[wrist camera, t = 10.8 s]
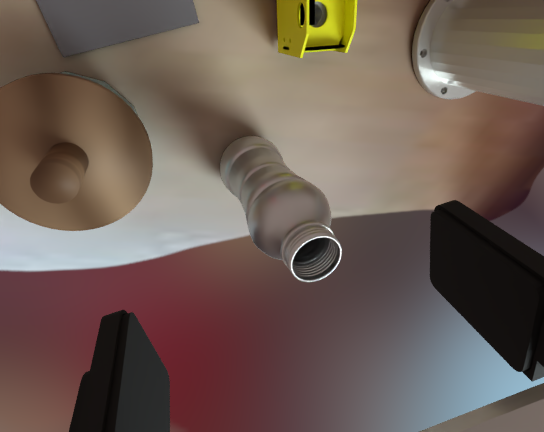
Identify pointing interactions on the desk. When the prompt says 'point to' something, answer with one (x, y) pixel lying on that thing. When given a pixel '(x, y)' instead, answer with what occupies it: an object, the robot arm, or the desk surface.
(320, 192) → the plastic bottle
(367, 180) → the desk surface
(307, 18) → the yellow toy chassis
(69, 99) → the lid
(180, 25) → the mat
